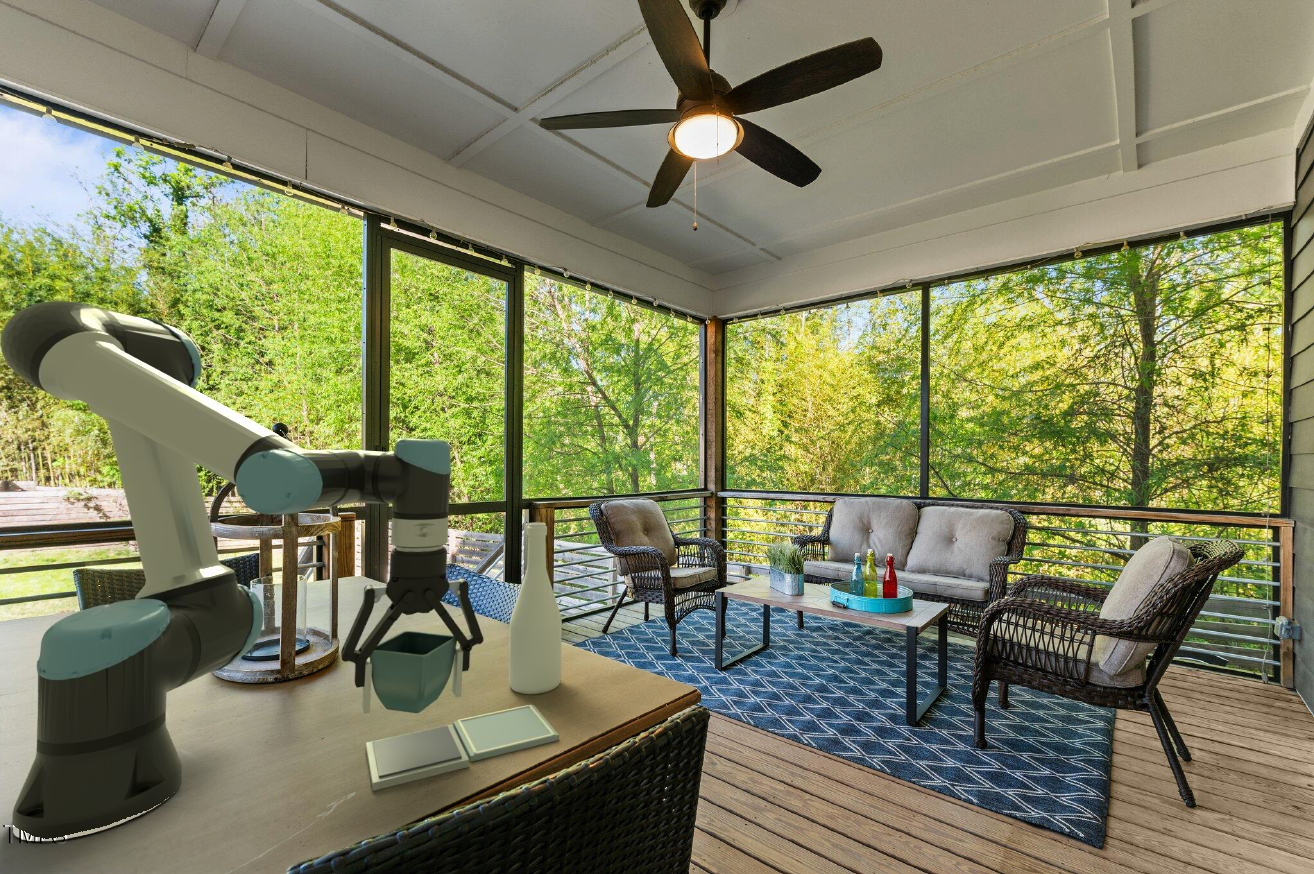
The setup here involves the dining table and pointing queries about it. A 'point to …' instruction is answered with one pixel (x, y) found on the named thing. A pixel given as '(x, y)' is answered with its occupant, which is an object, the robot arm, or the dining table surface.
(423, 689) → the flower pot
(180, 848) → the dining table surface
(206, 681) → the dining table surface
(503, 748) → the board
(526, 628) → the wine bottle
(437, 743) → the ink pad
